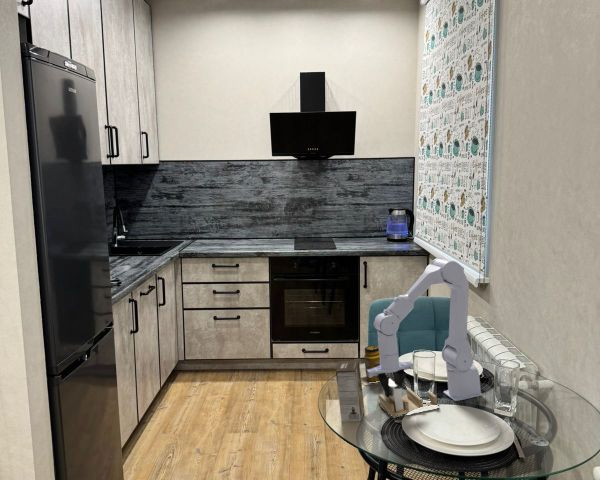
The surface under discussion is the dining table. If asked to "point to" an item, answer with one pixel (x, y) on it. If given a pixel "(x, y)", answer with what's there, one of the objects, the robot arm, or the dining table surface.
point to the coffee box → (350, 390)
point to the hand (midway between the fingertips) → (392, 395)
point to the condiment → (371, 363)
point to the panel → (395, 396)
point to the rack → (406, 403)
